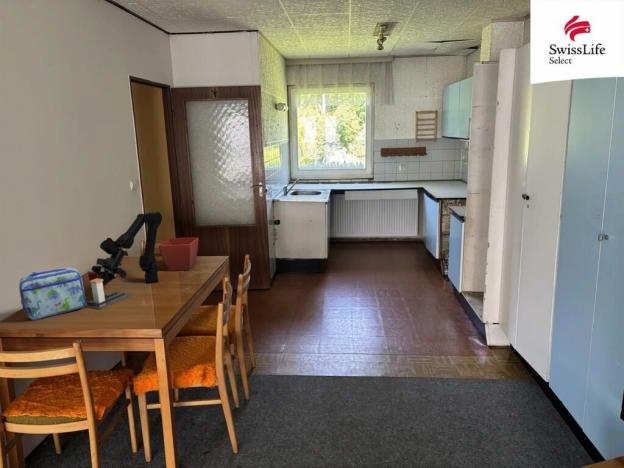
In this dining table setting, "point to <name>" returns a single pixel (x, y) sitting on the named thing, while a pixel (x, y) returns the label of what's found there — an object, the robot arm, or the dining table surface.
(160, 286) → the dining table surface
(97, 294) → the fader knob
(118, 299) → the plate
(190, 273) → the dining table surface
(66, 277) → the lunch box
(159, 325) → the dining table surface
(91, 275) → the canned food
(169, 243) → the plant pot
